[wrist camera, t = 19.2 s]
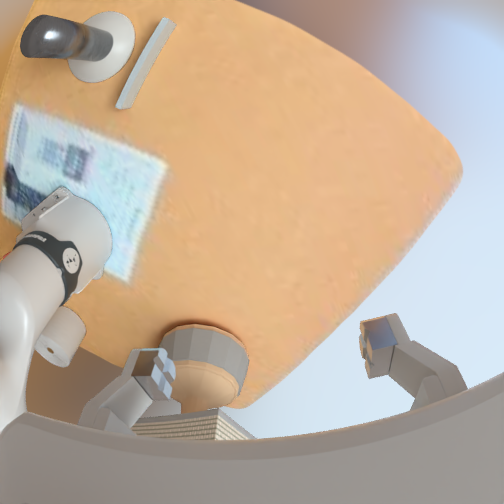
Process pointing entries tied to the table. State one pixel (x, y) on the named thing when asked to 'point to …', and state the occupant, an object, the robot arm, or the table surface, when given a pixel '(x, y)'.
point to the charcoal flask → (64, 40)
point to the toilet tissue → (61, 337)
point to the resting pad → (119, 53)
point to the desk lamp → (201, 385)
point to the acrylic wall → (145, 63)
